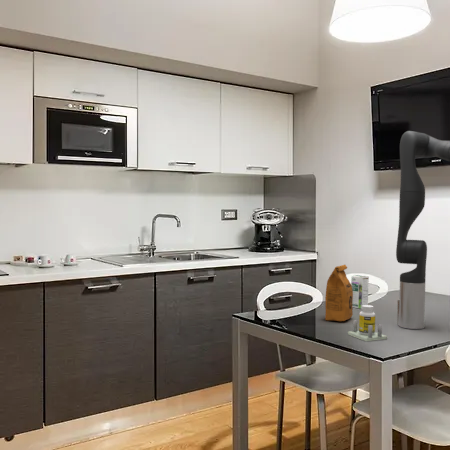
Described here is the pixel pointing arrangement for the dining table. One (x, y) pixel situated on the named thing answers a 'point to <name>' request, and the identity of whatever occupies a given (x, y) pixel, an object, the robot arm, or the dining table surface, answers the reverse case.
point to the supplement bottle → (366, 319)
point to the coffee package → (338, 296)
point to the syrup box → (359, 290)
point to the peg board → (368, 337)
